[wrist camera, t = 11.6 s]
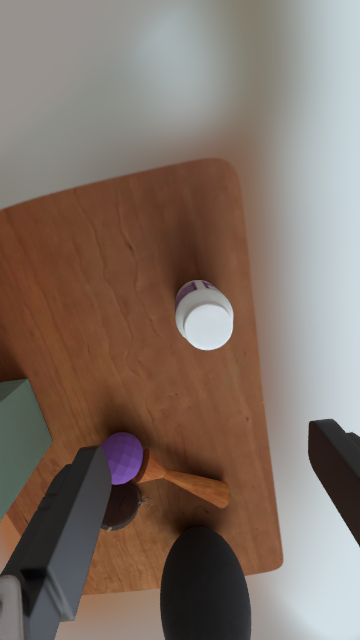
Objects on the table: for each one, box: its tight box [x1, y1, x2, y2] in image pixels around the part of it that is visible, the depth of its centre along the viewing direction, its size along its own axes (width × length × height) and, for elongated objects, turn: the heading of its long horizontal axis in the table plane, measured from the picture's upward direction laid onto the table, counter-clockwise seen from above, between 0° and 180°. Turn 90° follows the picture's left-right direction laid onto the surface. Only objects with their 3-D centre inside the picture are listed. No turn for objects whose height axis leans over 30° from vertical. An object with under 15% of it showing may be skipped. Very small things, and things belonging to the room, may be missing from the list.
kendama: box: [101, 432, 230, 509], centre depth 33 cm, size 6×6×20 cm
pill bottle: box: [175, 280, 233, 350], centre depth 23 cm, size 5×5×10 cm
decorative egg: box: [160, 527, 251, 640], centre depth 33 cm, size 12×12×15 cm
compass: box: [101, 483, 153, 534], centre depth 33 cm, size 8×8×7 cm
